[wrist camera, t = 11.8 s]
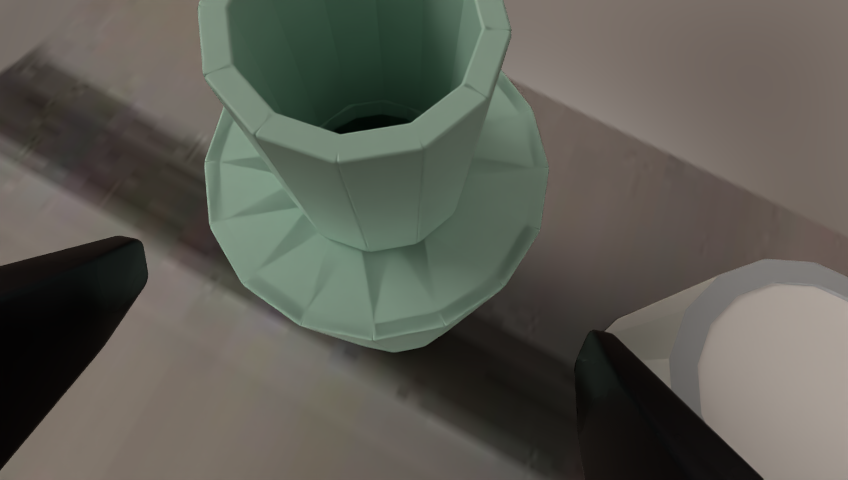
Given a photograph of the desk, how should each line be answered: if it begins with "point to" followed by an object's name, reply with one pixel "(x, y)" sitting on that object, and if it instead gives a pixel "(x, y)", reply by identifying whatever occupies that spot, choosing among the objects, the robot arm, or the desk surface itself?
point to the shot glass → (758, 362)
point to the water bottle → (370, 161)
